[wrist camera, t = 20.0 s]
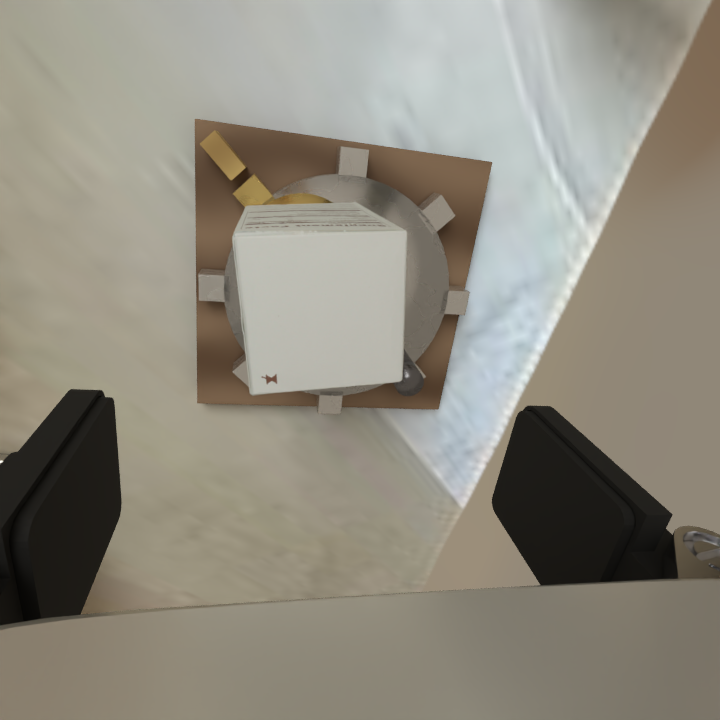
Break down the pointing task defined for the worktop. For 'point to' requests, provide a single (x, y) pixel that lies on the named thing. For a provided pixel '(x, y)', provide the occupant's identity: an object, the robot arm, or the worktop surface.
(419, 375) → the sprocket wheel
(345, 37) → the worktop surface
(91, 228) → the worktop surface
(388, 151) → the walnut plinth
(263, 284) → the supplement box
